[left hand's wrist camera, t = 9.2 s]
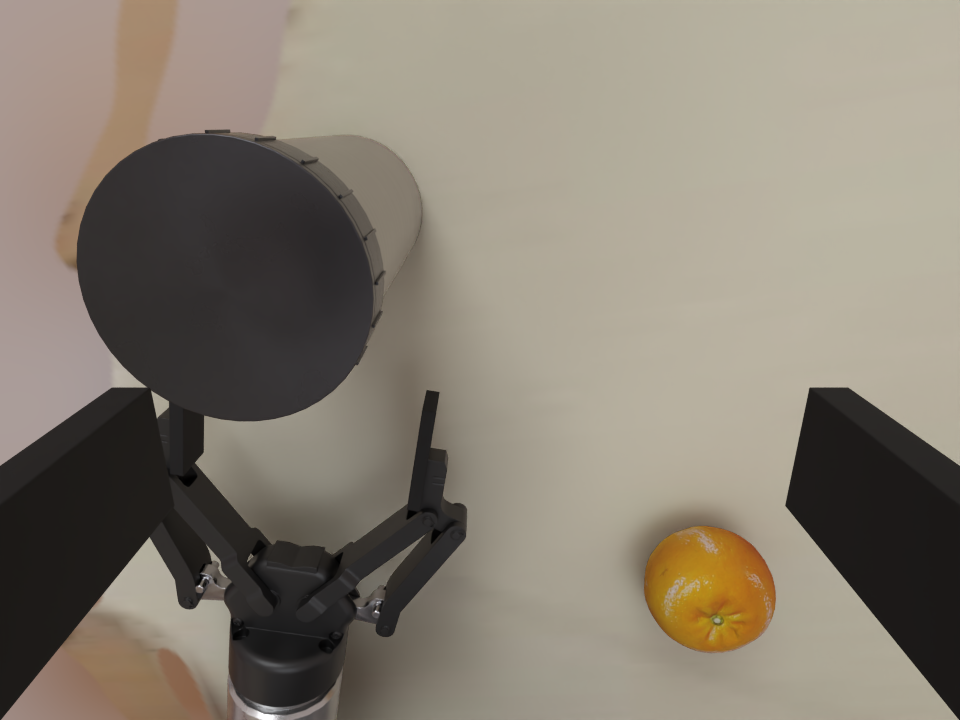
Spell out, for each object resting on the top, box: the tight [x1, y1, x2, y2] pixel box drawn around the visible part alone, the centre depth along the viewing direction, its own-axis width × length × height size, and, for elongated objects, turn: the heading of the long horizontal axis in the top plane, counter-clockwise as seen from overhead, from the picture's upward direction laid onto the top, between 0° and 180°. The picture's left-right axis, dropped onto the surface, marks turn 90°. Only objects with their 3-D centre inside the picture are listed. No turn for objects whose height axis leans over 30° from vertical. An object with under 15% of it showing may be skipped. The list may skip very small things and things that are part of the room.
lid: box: [77, 130, 386, 421], centre depth 20 cm, size 9×9×2 cm
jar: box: [279, 135, 422, 297], centre depth 28 cm, size 8×8×19 cm
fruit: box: [644, 526, 776, 653], centre depth 43 cm, size 8×8×8 cm
